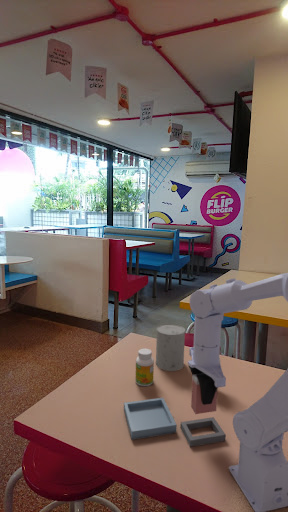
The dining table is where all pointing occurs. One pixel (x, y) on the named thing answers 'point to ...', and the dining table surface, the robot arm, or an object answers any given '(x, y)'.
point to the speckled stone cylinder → (170, 347)
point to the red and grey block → (196, 399)
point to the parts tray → (149, 418)
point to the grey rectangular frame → (202, 439)
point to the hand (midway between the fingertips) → (204, 399)
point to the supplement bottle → (144, 367)
